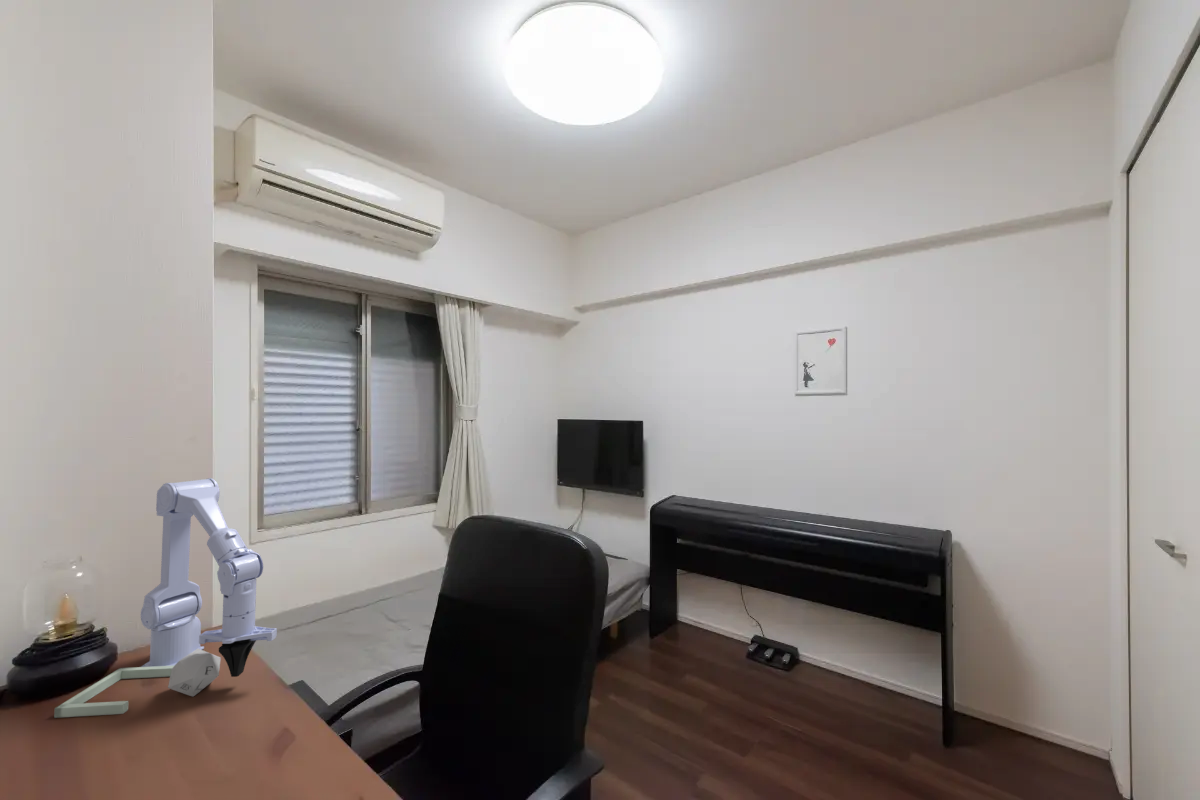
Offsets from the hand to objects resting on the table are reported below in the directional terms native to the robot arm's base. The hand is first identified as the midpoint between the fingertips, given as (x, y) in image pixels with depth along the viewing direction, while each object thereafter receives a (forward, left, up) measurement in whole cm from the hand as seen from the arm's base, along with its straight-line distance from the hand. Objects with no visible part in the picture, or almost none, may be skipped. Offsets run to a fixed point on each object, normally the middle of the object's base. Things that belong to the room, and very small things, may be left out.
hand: (237, 674), depth 102 cm
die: (0, -8, -3) cm, 9 cm away
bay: (0, -23, -3) cm, 23 cm away
